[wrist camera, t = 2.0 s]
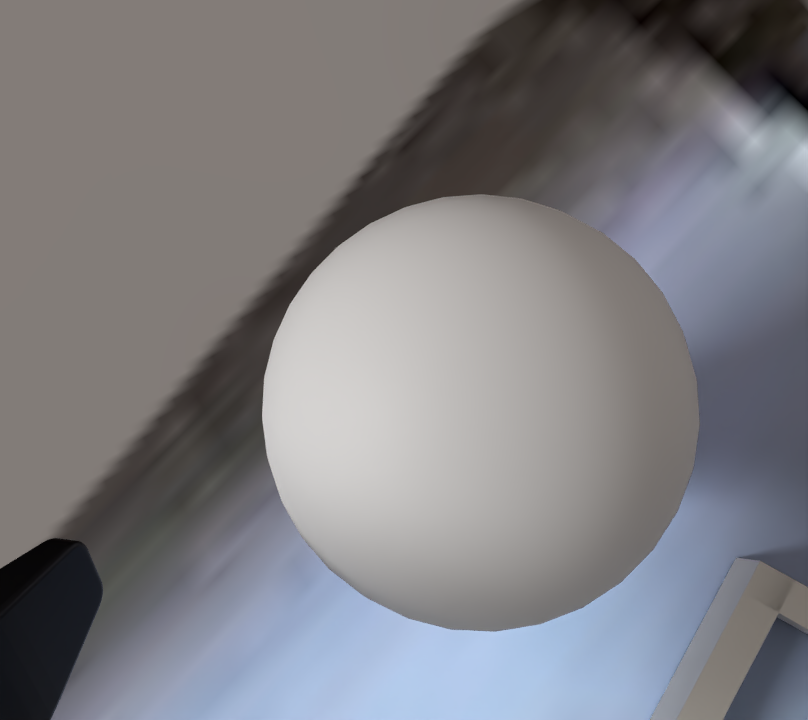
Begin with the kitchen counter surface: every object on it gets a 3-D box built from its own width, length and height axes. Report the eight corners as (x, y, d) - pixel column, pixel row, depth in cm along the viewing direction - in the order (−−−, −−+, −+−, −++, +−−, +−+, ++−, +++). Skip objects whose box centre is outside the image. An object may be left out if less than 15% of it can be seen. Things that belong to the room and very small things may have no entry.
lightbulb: (355, 413, 20) (109, 274, 9) (564, 296, 19) (548, 13, 9) (465, 636, 18) (310, 773, 8) (698, 515, 18) (877, 481, 7)
